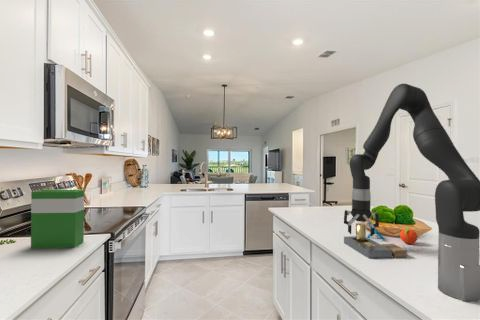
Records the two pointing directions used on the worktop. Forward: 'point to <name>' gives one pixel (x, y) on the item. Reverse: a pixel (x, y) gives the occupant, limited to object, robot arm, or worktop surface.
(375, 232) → the gear
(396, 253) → the brown rectangular block
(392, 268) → the worktop surface
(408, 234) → the tomato
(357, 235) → the brass peg
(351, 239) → the flange plate
